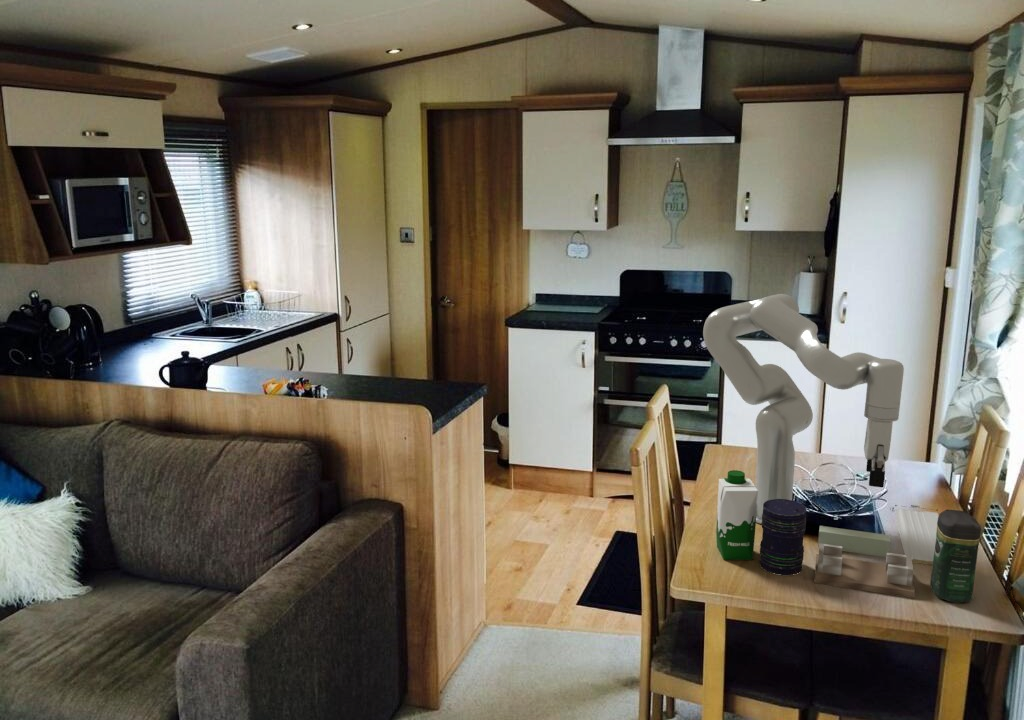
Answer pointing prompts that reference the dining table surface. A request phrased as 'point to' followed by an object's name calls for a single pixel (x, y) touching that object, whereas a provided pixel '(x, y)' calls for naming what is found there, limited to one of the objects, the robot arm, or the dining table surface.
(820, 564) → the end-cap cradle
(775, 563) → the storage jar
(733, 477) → the milk carton
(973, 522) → the coffee jar
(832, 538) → the pale green long block
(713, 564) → the dining table surface
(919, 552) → the baseboard molding
